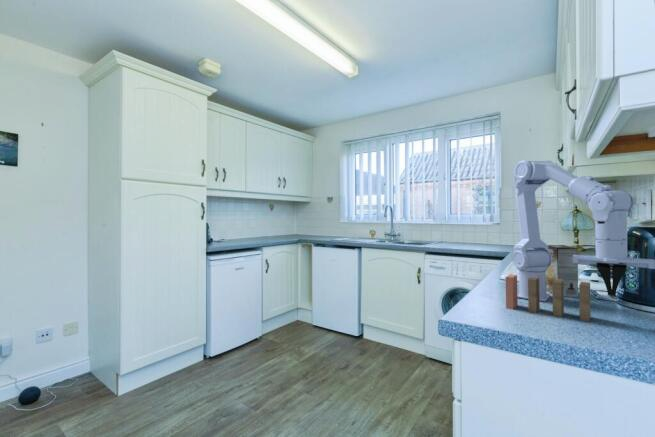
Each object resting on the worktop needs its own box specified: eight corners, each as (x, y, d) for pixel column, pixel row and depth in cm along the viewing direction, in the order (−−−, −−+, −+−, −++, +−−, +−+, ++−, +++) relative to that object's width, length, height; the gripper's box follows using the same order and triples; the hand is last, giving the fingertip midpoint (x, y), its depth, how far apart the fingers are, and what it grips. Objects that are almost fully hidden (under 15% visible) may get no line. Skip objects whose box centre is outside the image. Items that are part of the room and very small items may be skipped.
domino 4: (581, 315, 81) (581, 281, 80) (590, 316, 79) (590, 282, 79) (579, 320, 77) (579, 284, 77) (589, 321, 76) (588, 285, 76)
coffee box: (543, 289, 108) (542, 244, 108) (563, 290, 107) (563, 244, 107) (557, 296, 99) (556, 247, 99) (579, 297, 98) (579, 247, 98)
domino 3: (555, 311, 84) (555, 278, 84) (563, 312, 83) (563, 279, 83) (552, 315, 81) (552, 281, 81) (561, 317, 79) (560, 282, 79)
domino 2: (532, 307, 88) (531, 276, 88) (539, 308, 87) (539, 277, 87) (528, 311, 85) (528, 279, 84) (536, 312, 83) (535, 280, 83)
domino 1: (510, 304, 92) (510, 274, 92) (517, 305, 91) (517, 275, 91) (506, 307, 88) (505, 276, 88) (513, 309, 87) (512, 277, 87)
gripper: (571, 239, 77) (572, 293, 77) (655, 241, 67) (656, 303, 67) (574, 237, 82) (575, 288, 82) (653, 239, 72) (654, 297, 72)
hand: (611, 294), depth 75 cm, fingers closed
